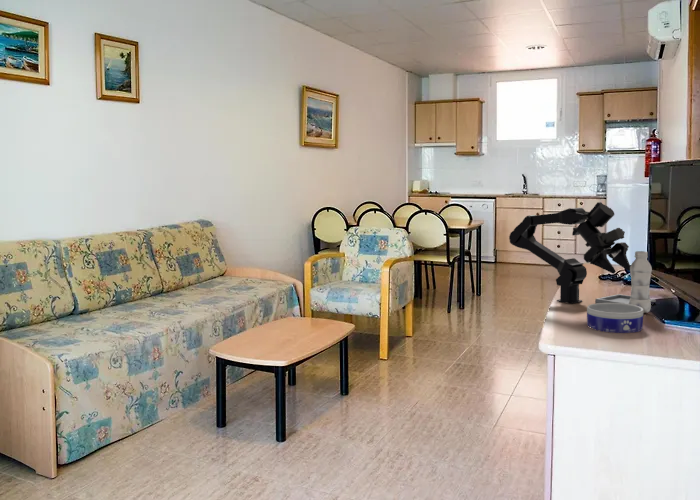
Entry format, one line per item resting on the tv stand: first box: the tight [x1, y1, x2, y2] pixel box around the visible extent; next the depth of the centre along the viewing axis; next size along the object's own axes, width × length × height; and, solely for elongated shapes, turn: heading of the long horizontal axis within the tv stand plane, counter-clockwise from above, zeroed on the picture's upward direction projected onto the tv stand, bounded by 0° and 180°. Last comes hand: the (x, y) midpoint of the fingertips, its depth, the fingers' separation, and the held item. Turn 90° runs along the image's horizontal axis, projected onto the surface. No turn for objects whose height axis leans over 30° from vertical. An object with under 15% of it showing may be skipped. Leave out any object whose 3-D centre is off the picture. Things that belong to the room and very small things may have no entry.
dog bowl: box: [586, 303, 644, 334], centre depth 180 cm, size 15×15×6 cm
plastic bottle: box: [629, 250, 653, 314], centre depth 196 cm, size 6×7×20 cm
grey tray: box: [594, 293, 657, 304], centre depth 213 cm, size 14×14×2 cm
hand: (622, 271), depth 201 cm, fingers open, 9 cm apart
